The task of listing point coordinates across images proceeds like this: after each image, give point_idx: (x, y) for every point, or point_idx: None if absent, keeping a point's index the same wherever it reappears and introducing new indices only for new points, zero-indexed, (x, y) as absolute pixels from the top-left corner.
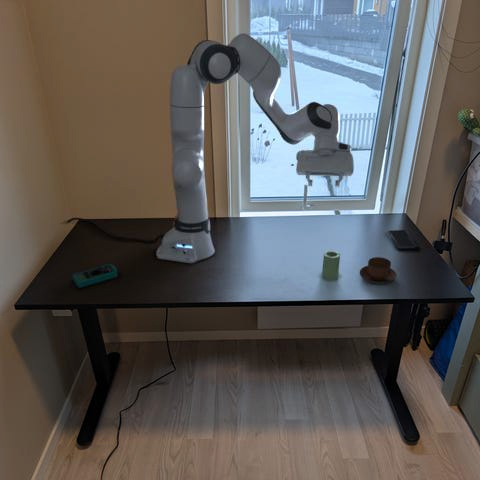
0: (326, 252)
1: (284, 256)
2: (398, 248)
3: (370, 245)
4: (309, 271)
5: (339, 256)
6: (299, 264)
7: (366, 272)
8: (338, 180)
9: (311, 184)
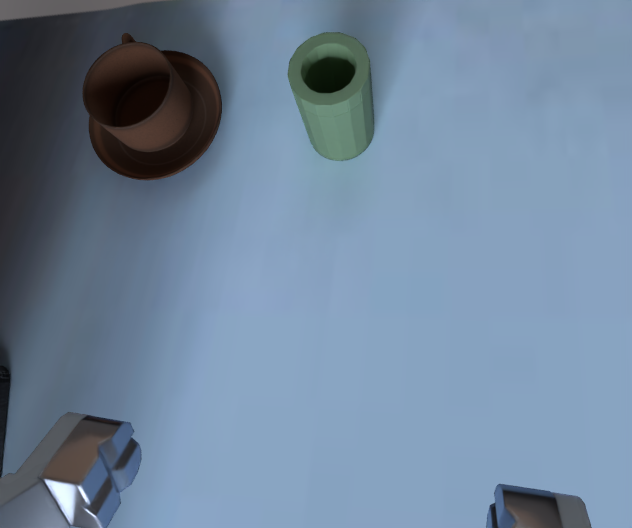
0: (354, 83)
1: (553, 313)
2: (1, 367)
3: None
4: (426, 166)
5: (293, 56)
6: (472, 228)
7: (192, 148)
8: (34, 474)
9: (514, 488)
